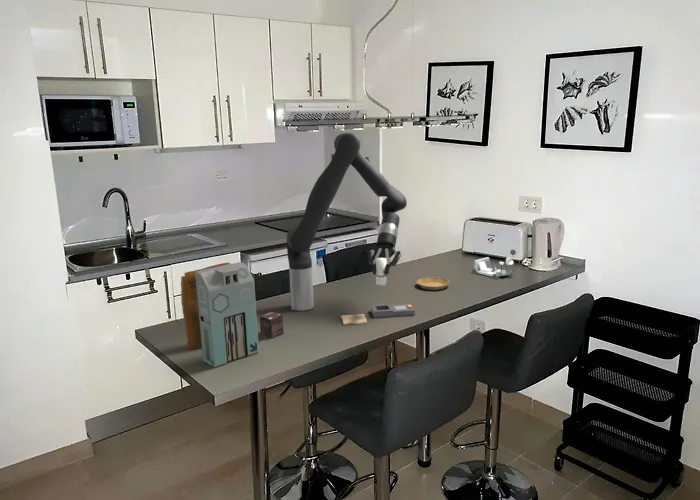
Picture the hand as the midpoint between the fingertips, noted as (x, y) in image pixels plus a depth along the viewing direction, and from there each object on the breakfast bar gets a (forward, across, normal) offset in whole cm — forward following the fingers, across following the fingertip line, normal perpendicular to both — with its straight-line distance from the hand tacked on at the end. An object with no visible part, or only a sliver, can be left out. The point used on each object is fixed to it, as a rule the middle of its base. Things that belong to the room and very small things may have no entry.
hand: (379, 273), depth 215 cm
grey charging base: (+9, +4, +15) cm, 18 cm away
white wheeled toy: (-37, +38, +62) cm, 81 cm away
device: (+48, -37, -24) cm, 65 cm away
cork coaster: (+17, -8, +7) cm, 20 cm away
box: (+33, -33, -8) cm, 47 cm away
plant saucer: (-18, +13, +43) cm, 49 cm away
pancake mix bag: (+42, -50, -18) cm, 67 cm away
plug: (+2, 0, +5) cm, 5 cm away
